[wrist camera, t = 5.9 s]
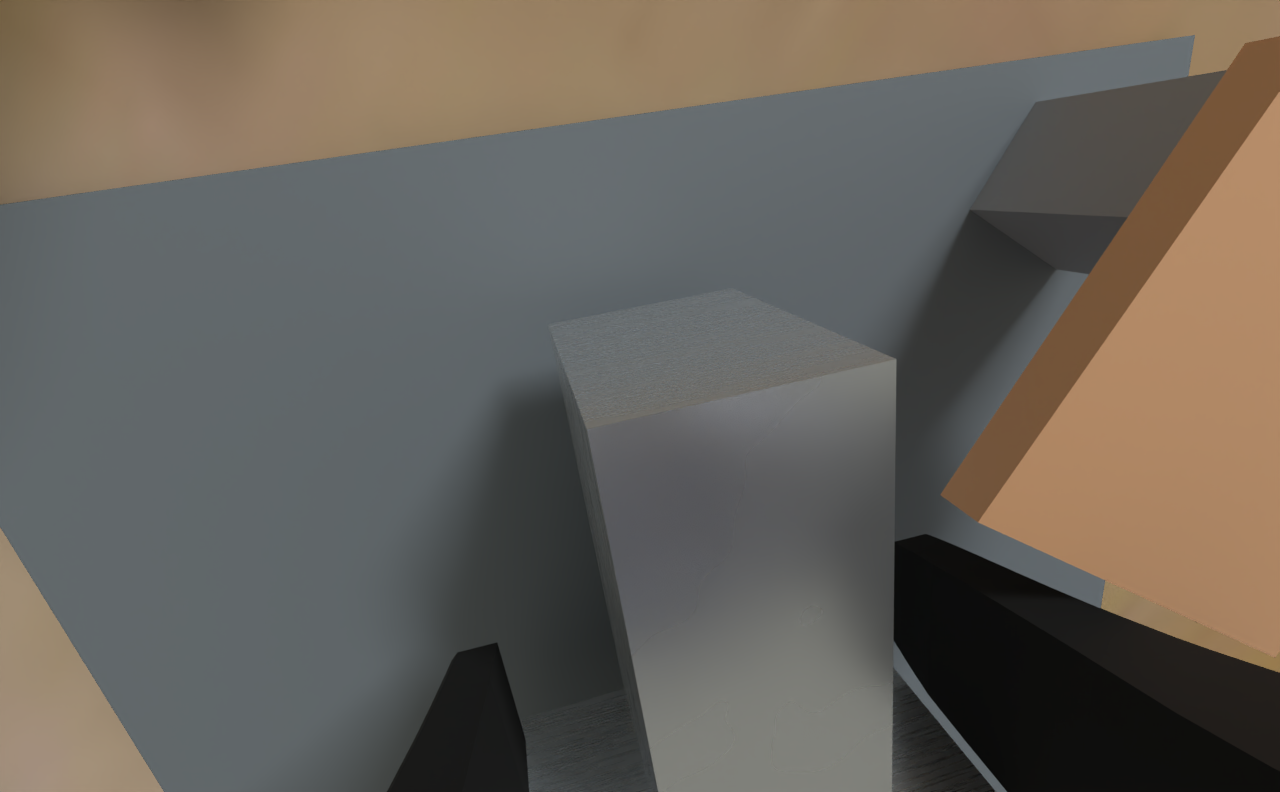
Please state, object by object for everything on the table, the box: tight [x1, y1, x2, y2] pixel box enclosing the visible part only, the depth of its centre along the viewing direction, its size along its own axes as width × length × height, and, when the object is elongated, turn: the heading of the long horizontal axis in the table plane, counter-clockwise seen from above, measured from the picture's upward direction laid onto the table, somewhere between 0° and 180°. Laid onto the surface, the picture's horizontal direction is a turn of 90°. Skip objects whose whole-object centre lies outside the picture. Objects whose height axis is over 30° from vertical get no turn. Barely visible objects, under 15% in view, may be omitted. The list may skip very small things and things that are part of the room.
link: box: [522, 288, 996, 792], centre depth 9 cm, size 14×7×4 cm, turn 9°
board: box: [0, 35, 1195, 792], centre depth 13 cm, size 19×21×1 cm
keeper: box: [940, 36, 1280, 658], centre depth 9 cm, size 6×6×6 cm
